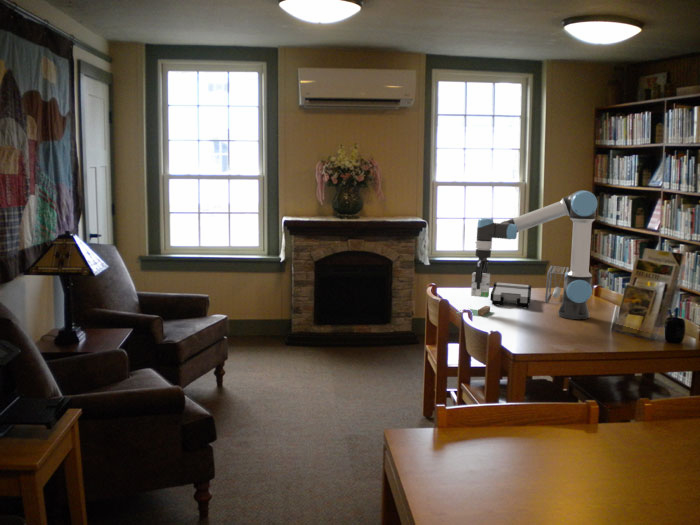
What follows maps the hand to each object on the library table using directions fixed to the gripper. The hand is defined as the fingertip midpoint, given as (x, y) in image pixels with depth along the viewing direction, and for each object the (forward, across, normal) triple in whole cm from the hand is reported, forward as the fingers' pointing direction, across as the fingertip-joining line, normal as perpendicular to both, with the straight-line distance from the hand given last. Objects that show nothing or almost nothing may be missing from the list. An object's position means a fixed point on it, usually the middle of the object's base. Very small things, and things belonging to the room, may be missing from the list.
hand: (480, 294), depth 360 cm
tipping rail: (+10, 0, +3) cm, 10 cm away
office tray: (+11, -41, +5) cm, 43 cm away
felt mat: (+10, 0, -2) cm, 10 cm away
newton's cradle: (+10, -68, +24) cm, 73 cm away
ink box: (+1, 0, 0) cm, 1 cm away
